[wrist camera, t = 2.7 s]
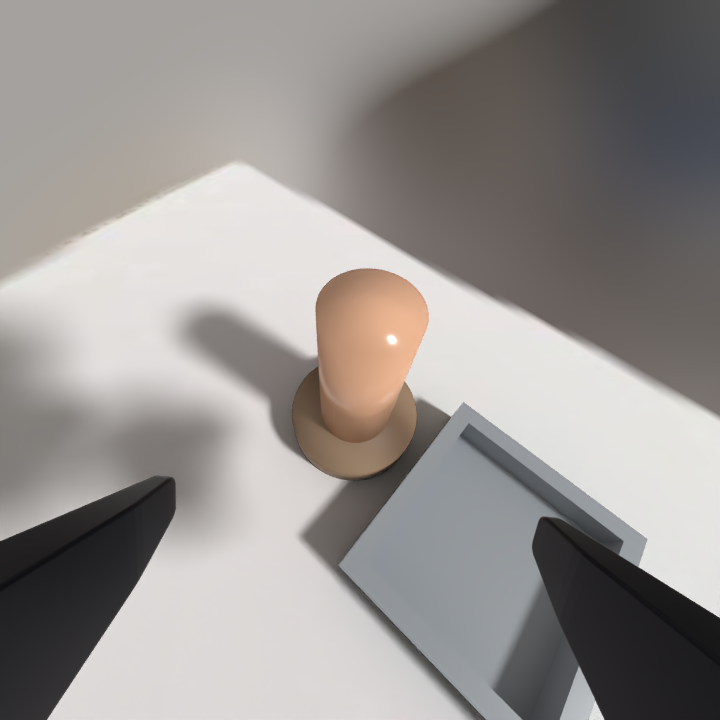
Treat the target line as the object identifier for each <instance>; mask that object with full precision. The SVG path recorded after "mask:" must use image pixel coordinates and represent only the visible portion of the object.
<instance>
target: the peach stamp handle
mask: <svg viewBox="0 0 720 720" xmlns="http://www.w3.org/2000/svg"><path fill="white" fill-rule="evenodd" d="M428 320H429V314H428V308H427V305H426V302H425V300H424V298H423V296H422V295H421V293H420V292H419V291H418V290H417V288H416V287H414V286H413V285H412V284H411V283H410V282H408V281H407V280H406V279H404V278H402V277H400V276H398V275H396V274H394V273H391V272H388V271H384V270H379V269H356V270H351V271H347V272H345V273H342V274H340V275H338V276H336V277H334V278H333V279H331V280H330V281H329V282H328V283H327V284H326V285H325V286H324V287H323V288H322V290H321V292H320V293H319V296H318V298H317V302H316V328H317V347H318V365H319V384H320V403H321V416H322V420H323V422H324V424H325V426H326V428H327V429H328V430H329V431H330V432H331V433H332V434H333V435H334V436H335V437H337V438H339V439H341V440H343V441H346V442H351V443H361V442H366V441H369V440H371V439H373V438H375V437H376V436H377V435H379V434H380V433H381V432H382V431H383V429H384V428H385V426H386V424H387V422H388V419H389V417H390V415H391V412H392V410H393V407H394V405H395V403H396V400H397V398H398V396H399V393H400V391H401V388H402V386H403V384H404V381H405V379H406V377H407V374H408V372H409V369H410V367H411V365H412V362H413V360H414V357H415V355H416V353H417V350H418V348H419V346H420V343H421V341H422V338H423V336H424V334H425V331H426V329H427V326H428Z"/></svg>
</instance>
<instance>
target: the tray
mask: <svg viewBox="0 0 720 720" xmlns="http://www.w3.org/2000/svg"><path fill="white" fill-rule="evenodd" d="M543 516H549V517H557V518H560V519H562V520H564V521H565V522H567V523H568V524H570V525H572V526H573V527H575V528H576V529H578V530H580V531H581V532H583V533H584V534H586V535H588V536H589V537H591V538H592V539H594V540H596V541H597V542H599V543H601V544H602V545H604V546H605V547H607V548H609V549H610V550H612V551H613V552H615V553H617V554H618V555H620V556H621V557H623V558H625V559H626V560H628V561H629V562H631V563H633V564H634V565H636V566H637V567H638V566H639V563H640V560H641V557H642V554H643V551H644V548H645V545H646V542H647V539H646V538H645V537H644V536H642V535H641V534H640V533H638V532H637V531H636V530H634V529H633V528H632V527H630V526H629V525H628V524H626V523H625V522H624V521H622V520H621V519H620V518H618V517H617V516H616V515H614V514H613V513H612V512H610V511H609V510H608V509H606V508H605V507H604V506H602V505H601V504H599V503H598V502H597V501H595V500H594V499H593V498H591V497H590V496H589V495H587V494H586V493H585V492H583V491H582V490H581V489H579V488H578V487H577V486H575V485H574V484H573V483H571V482H570V481H569V480H567V479H566V478H565V477H563V476H562V475H561V474H559V473H558V472H557V471H555V470H554V469H552V468H551V467H550V466H548V465H547V464H546V463H544V462H543V461H542V460H540V459H539V458H538V457H536V456H535V455H534V454H532V453H531V452H530V451H528V450H527V449H526V448H524V447H523V446H522V445H520V444H519V443H518V442H516V441H515V440H514V439H512V438H511V437H510V436H508V435H507V434H505V433H504V432H503V431H501V430H500V429H499V428H497V427H496V426H495V425H493V424H492V423H491V422H489V421H488V420H487V419H485V418H484V417H483V416H481V415H480V414H479V413H477V412H476V411H475V410H473V409H472V408H471V407H469V406H468V405H467V404H465V403H464V402H463V404H462V405H461V406H460V407H459V408H458V410H457V411H456V412H455V413H454V414H453V415H452V417H451V418H450V419H449V421H448V422H447V423H446V424H445V426H444V427H443V428H442V430H441V431H440V432H439V434H438V435H437V436H436V437H435V439H434V440H433V441H432V443H431V444H430V445H429V447H428V448H427V449H426V451H425V452H424V453H423V454H422V456H421V457H420V458H419V460H418V461H417V462H416V464H415V465H414V466H413V467H412V469H411V470H410V471H409V473H408V474H407V475H406V477H405V478H404V479H403V480H402V482H401V483H400V484H399V486H398V487H397V488H396V490H395V491H394V492H393V494H392V495H391V496H390V497H389V499H388V500H387V501H386V503H385V504H384V505H383V507H382V508H381V509H380V510H379V512H378V513H377V514H376V516H375V517H374V518H373V520H372V521H371V522H370V524H369V525H368V526H367V527H366V529H365V530H364V531H363V533H362V534H361V535H360V537H359V538H358V539H357V540H356V542H355V543H354V544H353V546H352V547H351V548H350V550H349V551H348V552H347V553H346V555H345V556H344V557H343V559H342V560H341V561H340V563H339V564H338V566H339V567H340V568H341V569H342V570H343V571H344V572H345V573H346V574H347V575H348V576H349V577H350V579H351V580H352V581H353V582H354V583H355V584H356V585H357V586H358V587H359V588H360V589H361V590H362V591H363V592H364V593H365V594H366V595H367V596H368V597H369V598H370V599H371V600H372V601H373V603H374V604H375V605H376V606H377V607H378V608H379V609H380V610H381V611H382V612H383V613H384V614H385V615H386V616H387V617H388V618H389V619H390V620H391V621H392V622H393V623H394V624H395V625H396V627H397V628H398V629H399V630H400V631H401V632H402V633H403V634H404V635H405V636H406V637H407V638H408V639H409V640H410V641H411V642H412V643H413V644H414V645H415V646H416V647H417V648H418V649H419V651H420V652H421V653H422V654H423V655H424V656H425V657H426V658H427V659H428V660H429V661H430V662H431V663H432V664H433V665H434V666H435V667H436V668H437V669H438V670H439V671H440V672H441V674H442V675H443V676H444V677H445V678H446V679H447V680H448V681H449V682H450V683H451V684H452V685H453V686H454V687H455V688H456V689H457V690H458V691H459V692H460V693H461V694H462V695H463V696H464V698H465V699H466V700H467V701H468V702H469V703H470V704H471V705H472V706H473V707H474V708H475V709H476V710H477V711H478V712H479V713H480V714H481V715H482V716H483V717H484V718H485V719H486V720H589V717H590V714H591V711H592V708H593V705H594V702H595V698H594V696H593V694H592V692H591V690H590V688H589V686H588V684H587V682H586V679H585V677H584V675H583V673H582V671H581V669H580V667H579V665H578V663H577V660H576V658H575V656H574V654H573V652H572V650H571V648H570V646H569V644H568V641H567V639H566V637H565V635H564V633H563V631H562V628H561V626H560V624H559V622H558V619H557V617H556V614H555V612H554V609H553V607H552V604H551V601H550V599H549V596H548V593H547V590H546V588H545V585H544V582H543V580H542V577H541V574H540V572H539V569H538V566H537V564H536V561H535V558H534V556H533V552H532V541H533V538H534V535H535V531H536V528H537V524H538V521H539V519H540V518H541V517H543Z"/></svg>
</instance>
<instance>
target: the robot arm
mask: <svg viewBox="0 0 720 720" xmlns="http://www.w3.org/2000/svg"><path fill="white" fill-rule="evenodd" d="M175 509H176V484H175V480H174V478H172V477H167V476H154V477H151V478H149V479H147V480H144V481H142V482H139V483H137V484H135V485H132V486H130V487H128V488H125V489H123V490H120V491H118V492H116V493H113V494H111V495H109V496H106V497H104V498H102V499H99V500H97V501H94V502H92V503H90V504H87V505H85V506H83V507H80V508H78V509H75V510H73V511H71V512H68V513H66V514H64V515H61V516H59V517H57V518H54V519H52V520H49V521H47V522H45V523H42V524H40V525H38V526H35V527H33V528H30V529H28V530H26V531H23V532H21V533H19V534H16V535H14V536H12V537H9V538H7V539H4V540H2V541H0V720H47V719H48V717H49V716H50V714H51V713H52V711H53V710H54V708H55V707H56V705H57V704H58V702H59V701H60V699H61V698H62V696H63V695H64V693H65V692H66V690H67V689H68V687H69V686H70V684H71V683H72V681H73V680H74V678H75V677H76V675H77V673H78V672H79V670H80V669H81V667H82V666H83V664H84V663H85V661H86V660H87V658H88V657H89V655H90V654H91V652H92V651H93V649H94V648H95V646H96V645H97V643H98V642H99V640H100V639H101V637H102V636H103V634H104V633H105V631H106V630H107V628H108V627H109V625H110V624H111V622H112V621H113V619H114V618H115V616H116V615H117V613H118V612H119V610H120V609H121V607H122V606H123V604H124V603H125V601H126V600H127V598H128V597H129V595H130V594H131V592H132V590H133V589H134V587H135V586H136V584H137V583H138V581H139V579H140V577H141V576H142V574H143V572H144V570H145V569H146V567H147V565H148V563H149V561H150V559H151V557H152V555H153V554H154V552H155V550H156V548H157V546H158V544H159V542H160V541H161V539H162V537H163V535H164V533H165V531H166V529H167V528H168V526H169V524H170V522H171V520H172V518H173V516H174V513H175ZM532 552H533V556H534V558H535V561H536V564H537V566H538V569H539V572H540V574H541V577H542V580H543V582H544V585H545V588H546V590H547V593H548V596H549V599H550V601H551V604H552V607H553V609H554V612H555V614H556V617H557V619H558V622H559V624H560V626H561V628H562V631H563V633H564V635H565V637H566V639H567V641H568V644H569V646H570V648H571V650H572V652H573V654H574V656H575V658H576V660H577V663H578V665H579V667H580V669H581V671H582V673H583V675H584V677H585V679H586V682H587V684H588V686H589V688H590V690H591V692H592V694H593V696H594V698H595V701H596V703H597V705H598V707H599V709H600V711H601V713H602V715H603V717H604V720H720V618H719V617H717V616H716V615H714V614H713V613H711V612H709V611H708V610H706V609H705V608H703V607H701V606H700V605H698V604H697V603H695V602H693V601H692V600H690V599H689V598H687V597H685V596H684V595H682V594H681V593H679V592H677V591H676V590H674V589H673V588H671V587H669V586H668V585H666V584H665V583H663V582H661V581H660V580H658V579H657V578H655V577H653V576H652V575H650V574H649V573H647V572H645V571H644V570H642V569H641V568H639V567H637V566H636V565H634V564H633V563H631V562H629V561H628V560H626V559H625V558H623V557H621V556H620V555H618V554H617V553H615V552H613V551H612V550H610V549H609V548H607V547H605V546H604V545H602V544H601V543H599V542H597V541H596V540H594V539H592V538H591V537H589V536H588V535H586V534H584V533H583V532H581V531H580V530H578V529H576V528H575V527H573V526H572V525H570V524H568V523H567V522H565V521H564V520H562V519H560V518H557V517H549V516H543V517H541V518H540V519H539V521H538V524H537V528H536V531H535V535H534V538H533V541H532Z"/></svg>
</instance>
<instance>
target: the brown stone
mask: <svg viewBox="0 0 720 720" xmlns="http://www.w3.org/2000/svg"><path fill="white" fill-rule="evenodd" d="M292 419H293V425H294V429H295V433H296V437H297V440H298V443H299V446H300V448H301V450H302V452H303V453H304V455H305V456H306V457H307V459H308V460H309V461H310V462H311V463H312V464H313V465H314V466H315V467H317V468H318V469H319V470H321V471H322V472H324V473H326V474H328V475H330V476H332V477H335V478H339V479H344V480H364V479H368V478H372V477H375V476H377V475H380V474H381V473H383V472H385V471H386V470H388V469H389V468H390V467H392V466H393V465H394V464H395V463H396V462H397V461H398V460H399V458H400V457H401V455H402V454H403V452H404V451H405V449H406V448H407V447H408V445H409V443H410V441H411V439H412V437H413V435H414V432H415V427H416V421H417V412H416V405H415V401H414V398H413V395H412V393H411V391H410V389H409V387H408V385H407V384H406V383H405V381H404V384H403V386H402V388H401V391H400V393H399V396H398V398H397V400H396V403H395V405H394V407H393V410H392V412H391V415H390V417H389V419H388V422H387V424H386V426H385V428H384V429H383V431H382V432H381V433H380V434H379V435H377V436H376V437H375V438H373V439H371V440H369V441H366V442H361V443H351V442H346V441H343V440H341V439H339V438H337V437H335V436H334V435H333V434H332V433H331V432H330V431H329V430H328V429H327V428H326V426H325V424H324V422H323V420H322V416H321V403H320V384H319V366H318V367H317V368H315V369H314V370H313V371H312V372H310V373H309V374H308V375H307V377H306V378H305V379H304V380H303V382H302V383H301V385H300V386H299V388H298V390H297V392H296V395H295V398H294V402H293V409H292Z"/></svg>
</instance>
